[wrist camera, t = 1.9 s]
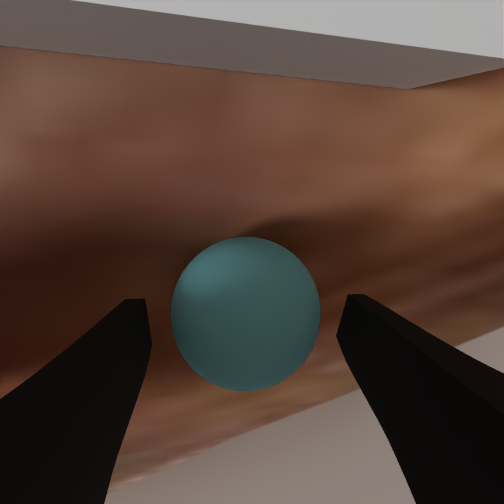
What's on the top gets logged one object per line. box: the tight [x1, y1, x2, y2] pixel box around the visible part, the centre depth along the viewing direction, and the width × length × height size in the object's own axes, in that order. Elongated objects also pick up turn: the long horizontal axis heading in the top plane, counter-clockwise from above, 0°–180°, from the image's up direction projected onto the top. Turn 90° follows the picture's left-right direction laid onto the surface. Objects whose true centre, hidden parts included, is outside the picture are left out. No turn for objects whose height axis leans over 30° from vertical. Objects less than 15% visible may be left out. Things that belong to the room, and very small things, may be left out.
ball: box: [171, 237, 321, 391], centre depth 9 cm, size 6×6×6 cm
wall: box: [0, 0, 504, 89], centre depth 6 cm, size 14×1×4 cm, turn 86°
